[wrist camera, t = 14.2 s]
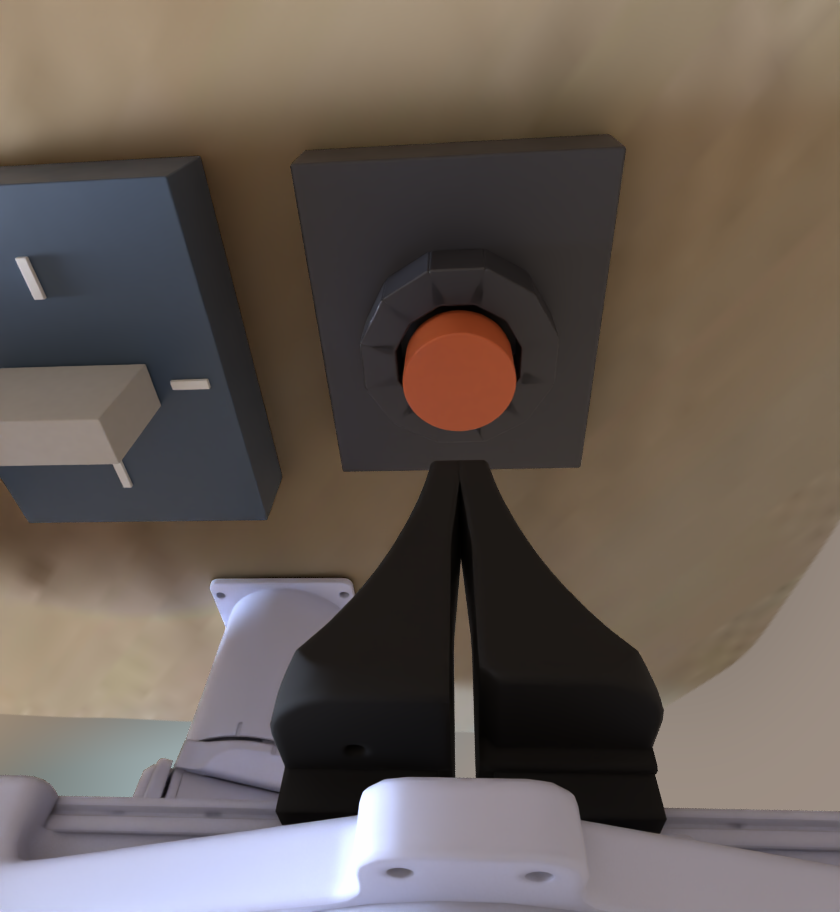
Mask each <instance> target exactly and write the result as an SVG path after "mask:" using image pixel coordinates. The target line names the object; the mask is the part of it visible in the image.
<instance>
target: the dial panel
mask: <svg viewBox="0 0 840 912" xmlns="http://www.w3.org/2000/svg"><path fill="white" fill-rule="evenodd" d="M131 364H145V365H146V367H147V370H148V372H149V375H150V378H151V380H152V383H153V386H154V388H155V391H156V394H157V396H158V399H159V401H160V404H161V406H160V408H159V409H158V411H157V412H156V413H155V415H154V416H153V417H152V419H151V420H150V422H149V423H148V424H147V426H146V427H145V429H144V430H143V431H142V433H141V434H140V436H139V437H138V438H137V440H136V441H135V442H134V444H133V445H132V447H131V448H130V449H129V451H128V452H127V454H126V455H125V456H124V458H123V459H122V460H121V462H120V463H119V464H91V465H31V466H0V478H1V479H2V481H3V482H4V484H5V486H6V487H7V489H8V490H9V492H10V493H11V495H12V497H13V498H14V500H15V501H16V503H17V505H18V506H19V508H20V509H21V511H22V512H23V514H24V516H25V517H26V519H27V520H28V522H29V523H62V522H146V521H231V520H267V519H268V516H269V513H270V510H271V507H272V505H273V502H274V499H275V496H276V493H277V490H278V488H279V485H280V482H281V479H282V474H281V470H280V466H279V462H278V458H277V455H276V451H275V447H274V443H273V439H272V435H271V431H270V427H269V423H268V419H267V415H266V411H265V408H264V404H263V400H262V396H261V392H260V388H259V384H258V380H257V376H256V372H255V368H254V365H253V361H252V357H251V353H250V349H249V345H248V341H247V337H246V333H245V329H244V325H243V321H242V318H241V314H240V310H239V306H238V302H237V298H236V294H235V290H234V286H233V282H232V278H231V274H230V271H229V267H228V263H227V259H226V255H225V251H224V247H223V243H222V239H221V235H220V231H219V228H218V224H217V220H216V216H215V212H214V208H213V204H212V200H211V196H210V192H209V188H208V184H207V181H206V177H205V173H204V169H203V165H202V161H201V157H200V156H187V157H168V158H149V159H130V160H112V161H93V162H74V163H55V164H37V165H18V166H0V368H24V367H60V366H95V365H131Z"/></svg>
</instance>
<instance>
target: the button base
mask: <svg viewBox="0 0 840 912" xmlns="http://www.w3.org/2000/svg"><path fill="white" fill-rule="evenodd" d="M625 153H626V148H625V146H623V145H622V144H621V143H620V142H618V141H617V140H616V139H615V138H613V137H612V136H611V135H609V134H602V135H584V136H565V137H546V138H528V139H509V140H490V141H471V142H453V143H434V144H415V145H396V146H378V147H359V148H340V149H321V150H305V151H304V152H303V153H302V154H301V155H300V156H299V157H298V158H297V159H296V160H295V161H294V162H293V163H292V164H291V166H290V168H291V174H292V179H293V185H294V191H295V197H296V202H297V208H298V214H299V220H300V226H301V231H302V237H303V243H304V249H305V255H306V260H307V266H308V272H309V278H310V284H311V289H312V295H313V301H314V307H315V312H316V318H317V324H318V330H319V336H320V341H321V347H322V353H323V359H324V365H325V370H326V376H327V382H328V388H329V394H330V399H331V405H332V411H333V417H334V423H335V428H336V434H337V440H338V446H339V451H340V457H341V463H342V469H343V471H344V472H350V471H409V470H429V467H430V464H431V463H432V462H434V461H445V460H485V461H486V462H488V463H489V467H490V469H525V468H579V467H580V466H581V460H582V453H583V446H584V439H585V432H586V425H587V418H588V411H589V404H590V397H591V390H592V383H593V376H594V369H595V362H596V355H597V348H598V341H599V334H600V327H601V320H602V313H603V306H604V299H605V292H606V285H607V278H608V271H609V264H610V257H611V250H612V243H613V236H614V229H615V222H616V215H617V208H618V201H619V195H620V188H621V181H622V174H623V167H624V160H625ZM453 310H467V311H473V312H476V313H480V314H482V315H484V316H486V317H488V318H490V319H491V320H493V321H494V322H495V323H497V324H498V325H499V326H500V327H501V328H502V330H503V331H504V332H505V334H506V336H507V338H508V340H509V342H510V345H511V350H512V355H513V361H514V367H515V372H516V389H515V393H514V396H513V398H512V401H511V402H510V404H509V406H508V407H507V408H506V410H505V411H504V412H503V413H502V414H501V415H500V416H499V417H498V418H496V419H495V420H494V421H492V422H491V423H489V424H487V425H485V426H482V427H480V428H477V429H473V430H468V431H450V430H444V429H440V428H437V427H435V426H432V425H430V424H428V423H427V422H425V421H424V420H422V419H421V418H420V417H419V416H417V415H416V413H415V412H414V411H413V410H412V409H411V407H410V406H409V404H408V402H407V400H406V398H405V395H404V392H403V372H404V364H405V356H406V349H407V346H408V343H409V340H410V338H411V336H412V335H413V333H414V332H415V331H416V329H417V328H418V327H419V326H420V325H421V324H422V323H424V322H425V321H426V320H428V319H429V318H431V317H433V316H435V315H437V314H440V313H443V312H447V311H453Z"/></svg>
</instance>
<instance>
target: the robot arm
mask: <svg viewBox="0 0 840 912" xmlns="http://www.w3.org/2000/svg"><path fill="white" fill-rule="evenodd" d="M461 561H462V569H463V577H464V585H465V593H466V601H467V609H468V617H469V625H470V633H471V644H472V664H473V697H474V731H475V766H476V778H455V719H454V636H455V623H456V612H457V600H458V588H459V576H460V564H461ZM210 590H211V593H212V595H213V597H214V600H215V602H216V605H217V607H218V609H219V612H220V614H221V617H222V619H223V622H224V624H225V626H226V629H225V632H224V634H223V637H222V640H221V643H220V646H219V648H218V651H217V654H216V657H215V659H214V662H213V665H212V668H211V671H210V673H209V676H208V679H207V682H206V684H205V687H204V690H203V693H202V696H201V698H200V701H199V704H198V707H197V710H196V712H195V715H194V718H193V721H192V723H191V726H190V729H189V732H188V735H187V738H186V740H185V741H184V744H183V746H182V748H181V751H180V753H179V755H178V758H177V760H176V763H175V765H174V767H173V769H172V768H171V765H172V762H173V761H172V760H168V759H164V758H161V759H159V760H158V762H157V764H156V765H152V766H150V767H148V768H147V769H145V770H144V771H143V773H142V776H141V778H140V780H139V783H138V785H137V788H136V790H135V792H134V795H133V797H88V796H87V797H86V796H85V797H84V796H58V795H57V793H56V791H55V789H54V788H53V787H52V786H51V785H50V784H49V783H47V782H46V781H45V780H43V779H40V778H37V777H33V776H23V775H21V776H20V775H0V912H840V811H799V810H793V811H792V810H746V809H697V808H695V809H694V808H664V807H663V803H662V799H661V796H660V792H659V788H658V784H657V781H656V777H655V774H656V773H657V771H658V770H657V763H656V759H655V755H654V751H653V748H652V747H653V744H654V742H655V739H656V736H657V734H658V731H659V728H660V726H661V723H662V720H663V712H664V709H663V707H662V703H661V699H660V696H659V693H658V691H657V688H656V686H655V684H654V681H653V679H652V677H651V675H650V673H649V671H648V669H647V667H646V665H645V663H644V661H643V659H642V658H641V656H640V654H639V652H638V651H637V650H636V649H635V648H633V647H632V646H631V645H629V644H628V643H627V642H625V641H624V640H623V639H622V638H620V637H619V636H618V635H616V634H615V633H614V632H613V631H611V630H610V629H609V628H608V627H606V626H605V625H604V624H603V623H602V622H601V621H600V620H599V619H597V618H596V617H595V616H594V615H593V614H592V613H591V612H590V611H588V610H587V609H586V608H585V607H584V606H583V605H582V604H581V602H580V601H579V600H578V599H577V598H576V597H575V596H574V595H573V594H572V593H571V592H570V591H569V590H568V589H567V588H566V587H565V586H564V585H563V584H562V583H561V582H560V581H559V580H558V579H557V577H556V576H555V575H554V574H553V573H552V572H551V570H550V569H549V568H548V567H547V566H546V564H545V563H544V562H543V561H542V559H541V558H540V557H539V555H538V554H537V553H536V551H535V550H534V549H533V547H532V546H531V545H530V543H529V542H528V540H527V539H526V537H525V536H524V534H523V533H522V531H521V530H520V528H519V526H518V525H517V523H516V522H515V520H514V518H513V516H512V515H511V513H510V511H509V509H508V508H507V506H506V504H505V502H504V500H503V498H502V496H501V494H500V492H499V490H498V488H497V486H496V483H495V481H494V479H493V476H492V473H491V470H490V467H489V463H488V462H486V461H485V460H445V461H434V462H432V463H431V464H430V467H429V472H428V475H427V478H426V481H425V484H424V487H423V489H422V491H421V494H420V496H419V499H418V501H417V503H416V505H415V507H414V509H413V511H412V513H411V515H410V517H409V519H408V521H407V523H406V524H405V526H404V528H403V529H402V531H401V533H400V535H399V536H398V538H397V540H396V541H395V543H394V545H393V546H392V548H391V549H390V551H389V552H388V554H387V555H386V557H385V558H384V559H383V561H382V562H381V564H380V565H379V566H378V568H377V569H376V570H375V572H374V573H373V574H372V575H371V577H370V578H369V579H368V580H367V582H366V583H365V584H364V585H363V586H362V588H361V589H360V590H359V591H358V592H357V593H356V594H355V592H354V587H353V583H352V581H350V580H349V579H347V578H237V579H214V580H213V581H212V582H211V585H210Z"/></svg>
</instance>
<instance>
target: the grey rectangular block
mask: <svg viewBox="0 0 840 912" xmlns="http://www.w3.org/2000/svg"><path fill="white" fill-rule="evenodd" d="M160 406H161V404H160V401H159V399H158V396H157V394H156V391H155V388H154V386H153V383H152V380H151V378H150V375H149V372H148V370H147V367H146V365H145V364H131V365H95V366H60V367H24V368H0V466H31V465H91V464H119V463H120V462H121V460H122V459H123V458H124V456H125V455H126V454H127V452H128V451H129V449H130V448H131V447H132V445H133V444H134V442H135V441H136V440H137V438H138V437H139V436H140V434H141V433H142V431H143V430H144V429H145V427H146V426H147V424H148V423H149V422H150V420H151V419H152V417H153V416H154V415H155V413H156V412H157V411H158V409H159V408H160Z"/></svg>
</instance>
